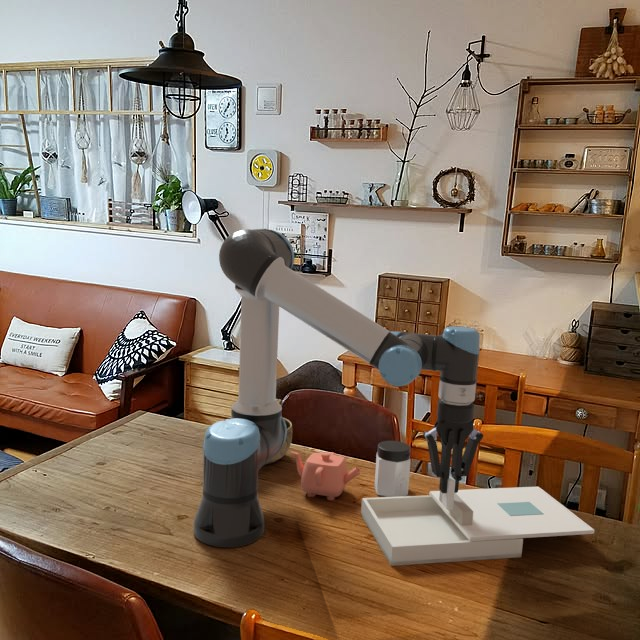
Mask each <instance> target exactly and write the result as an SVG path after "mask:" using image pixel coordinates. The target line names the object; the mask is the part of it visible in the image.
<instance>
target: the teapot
mask: <svg viewBox="0 0 640 640" xmlns="http://www.w3.org/2000/svg"><path fill="white" fill-rule="evenodd" d="M289 452H290V453H291V454H292V455H293V456H294V458H295V460H296V470H297V473H298V474H299V476H300V477H301V478H300V479H301V481H300V486H301V490H302V491H303V492H305V493H307V494H306V496H307V497H309V498H314V497H316V495H319V496H323V497H324V496H325V497H326V499H327V501H335V500H336V498H337V497H339V496H340V495H341V494H342V493H343V491H344V489H345V488H346V486H347V483H348V482H350V481H351V480H353V479H354V478H356V477H358V476H359V475H360V474H361V470H360V468H359V467H358V466H356V467H354V468H353V469H351V470H350V471H348V468H347V463H346V458H345V457H344V456H342V455H336V453H335V452H333V451H332V452H331V451H330V452H326V451H325V452H313V453H311V454H310V455H309V457H308V458H307V459H306V460H305V462H304V463H303V460H302V457H301V455H300V453H298V452H297V451H294V450H290V451H289Z"/></svg>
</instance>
